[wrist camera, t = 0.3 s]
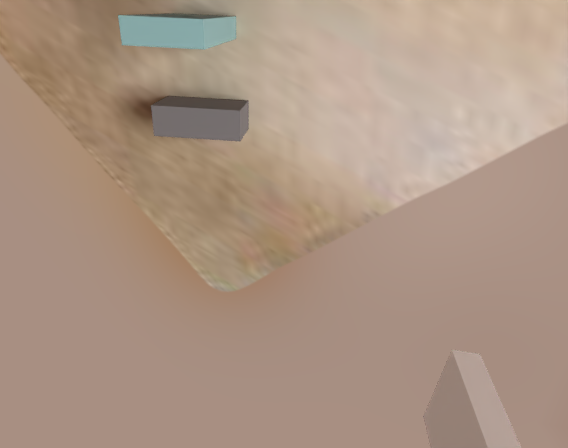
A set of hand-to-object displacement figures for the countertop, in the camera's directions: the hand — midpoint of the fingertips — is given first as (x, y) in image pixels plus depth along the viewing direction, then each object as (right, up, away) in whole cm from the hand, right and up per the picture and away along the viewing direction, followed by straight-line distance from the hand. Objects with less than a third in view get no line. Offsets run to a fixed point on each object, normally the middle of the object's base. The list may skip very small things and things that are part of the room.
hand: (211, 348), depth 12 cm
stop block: (-4, +13, +24) cm, 28 cm away
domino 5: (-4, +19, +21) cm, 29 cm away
